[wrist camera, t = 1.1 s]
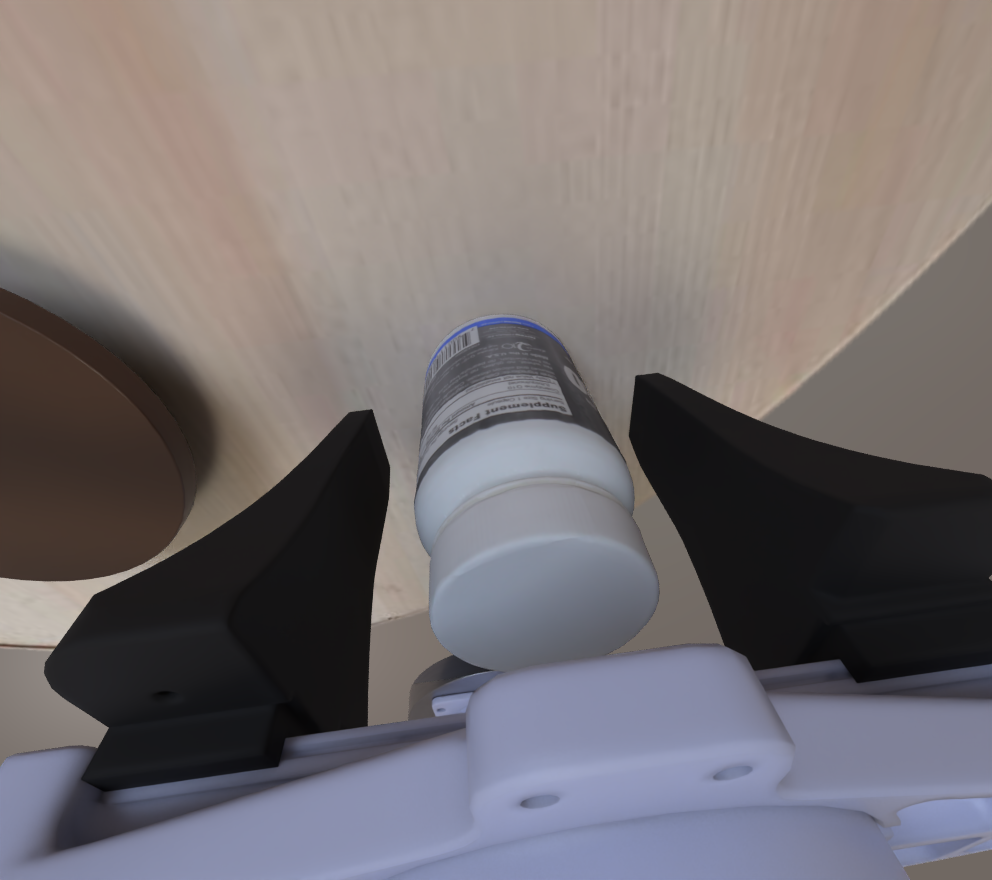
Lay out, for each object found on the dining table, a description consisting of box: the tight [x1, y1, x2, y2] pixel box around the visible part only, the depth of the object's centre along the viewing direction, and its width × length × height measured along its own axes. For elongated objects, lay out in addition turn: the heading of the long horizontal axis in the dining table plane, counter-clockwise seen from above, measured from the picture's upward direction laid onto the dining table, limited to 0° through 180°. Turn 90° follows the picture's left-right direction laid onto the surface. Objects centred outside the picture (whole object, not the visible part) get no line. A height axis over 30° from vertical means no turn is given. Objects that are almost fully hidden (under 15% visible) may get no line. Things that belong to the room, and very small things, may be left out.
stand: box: [0, 288, 196, 581], centre depth 12 cm, size 10×10×2 cm
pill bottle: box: [414, 314, 659, 672], centre depth 11 cm, size 5×5×8 cm
